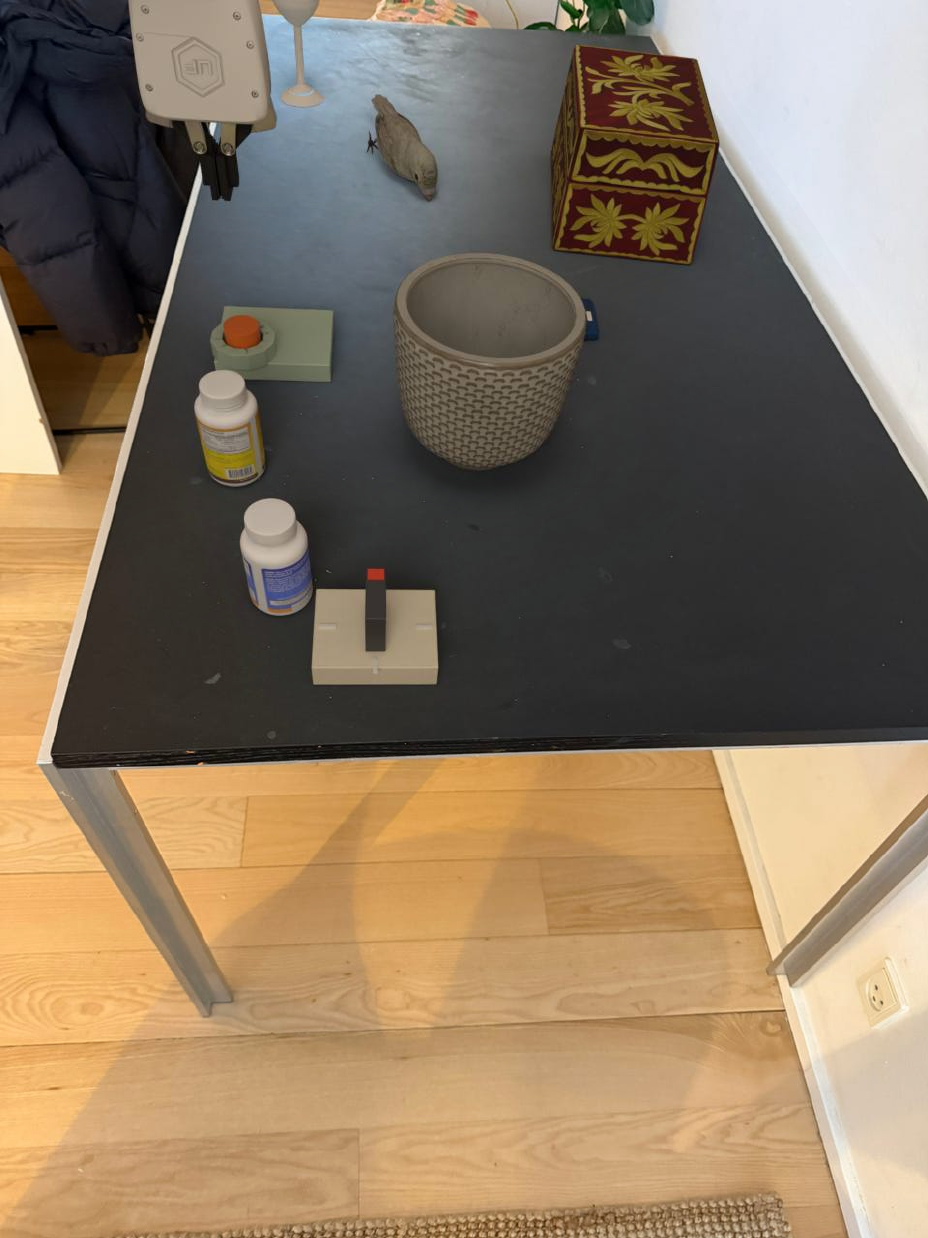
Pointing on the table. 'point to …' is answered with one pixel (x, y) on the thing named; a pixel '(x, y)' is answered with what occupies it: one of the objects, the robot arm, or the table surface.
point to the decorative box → (632, 156)
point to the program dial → (375, 610)
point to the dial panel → (344, 639)
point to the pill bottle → (276, 558)
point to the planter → (485, 355)
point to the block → (280, 345)
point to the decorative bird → (403, 147)
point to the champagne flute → (299, 50)
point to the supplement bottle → (229, 429)
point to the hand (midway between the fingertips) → (223, 192)
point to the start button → (242, 331)
